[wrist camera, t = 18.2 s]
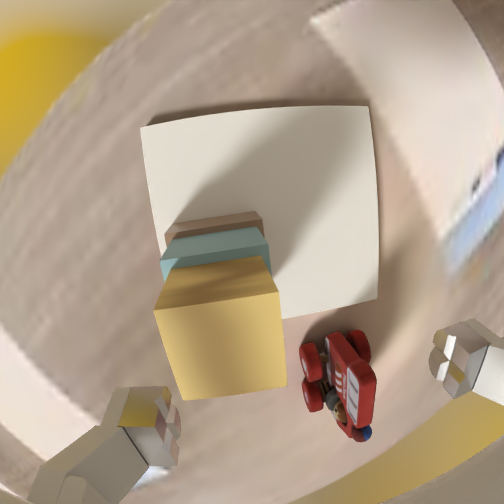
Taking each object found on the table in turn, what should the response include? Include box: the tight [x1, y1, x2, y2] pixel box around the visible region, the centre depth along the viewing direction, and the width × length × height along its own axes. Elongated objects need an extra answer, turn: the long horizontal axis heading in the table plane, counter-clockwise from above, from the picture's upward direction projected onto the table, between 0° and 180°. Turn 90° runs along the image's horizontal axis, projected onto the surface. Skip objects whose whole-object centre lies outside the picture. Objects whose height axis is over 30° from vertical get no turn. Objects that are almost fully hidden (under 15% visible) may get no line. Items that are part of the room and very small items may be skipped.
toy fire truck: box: [299, 330, 377, 442], centre depth 27 cm, size 7×12×10 cm, turn 9°
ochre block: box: [153, 255, 288, 401], centre depth 14 cm, size 5×5×5 cm
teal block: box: [160, 226, 272, 283], centre depth 19 cm, size 6×6×5 cm
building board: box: [140, 106, 379, 319], centre depth 24 cm, size 20×19×5 cm
